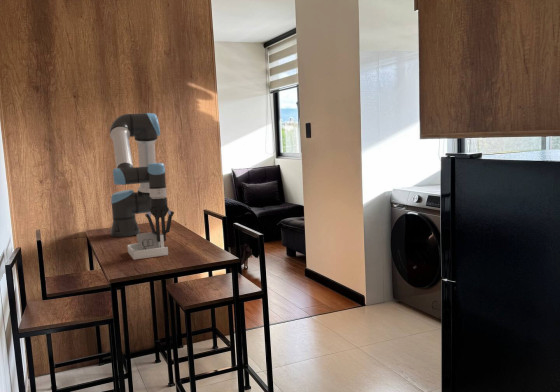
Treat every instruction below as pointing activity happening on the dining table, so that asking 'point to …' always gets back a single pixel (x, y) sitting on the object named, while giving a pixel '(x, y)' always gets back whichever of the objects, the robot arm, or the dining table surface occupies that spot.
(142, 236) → the electrical switch
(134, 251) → the u-shaped bracket
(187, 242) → the dining table surface
